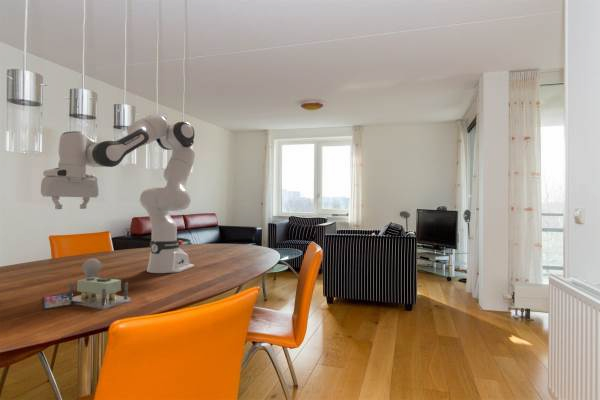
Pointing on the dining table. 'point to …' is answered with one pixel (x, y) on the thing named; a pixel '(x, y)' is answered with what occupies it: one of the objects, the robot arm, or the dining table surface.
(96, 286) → the green block with holes
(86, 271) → the lightbulb
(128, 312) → the dining table surface
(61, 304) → the smartphone
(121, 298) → the chassis
